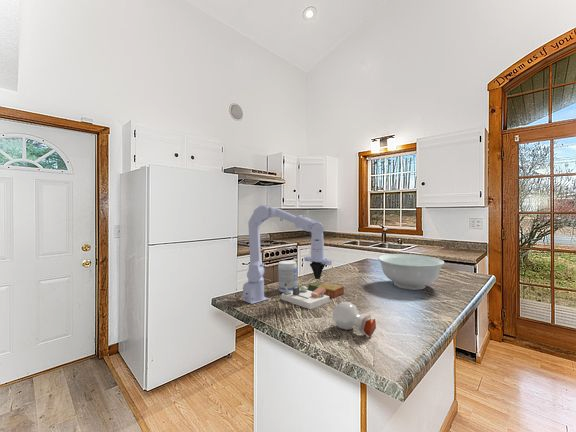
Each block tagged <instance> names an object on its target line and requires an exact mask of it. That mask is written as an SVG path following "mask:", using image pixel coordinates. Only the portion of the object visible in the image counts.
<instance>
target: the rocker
mask: <svg viewBox="0 0 576 432" xmlns="http://www.w3.org/2000/svg"><path fill="white" fill-rule="evenodd" d="M325 291H326V289H325V288H322V287H318V288H317V289H316V290H315V291H313V292H312V293H311V296H313V297H316V298H318V297H319V296H321V293H324V292H325Z"/></svg>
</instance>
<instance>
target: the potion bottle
mask: <svg viewBox="0 0 576 432" xmlns="http://www.w3.org/2000/svg"><path fill="white" fill-rule="evenodd" d="M332 320H333V322H334V324H335V326H336V327H338V328H339V329H341V330H346V331H348V330H349V331H350V330H352V329H354V328H358V331H359V332H360V333H361V334H362V335H364V336H367V337H369V338H371V337H372V335H374V333H375V330H376V328H377V323H376V318H374V319H372V316H371V314H370V315H366V316H364V315H361V314H360V311H359V309H358V307H357V306H356V305H355V304H353V303H352V302H350V301H341V302H339V303H337V304H336V305H335V307H334V308H333V310H332Z"/></svg>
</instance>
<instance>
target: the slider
mask: <svg viewBox="0 0 576 432" xmlns="http://www.w3.org/2000/svg"><path fill="white" fill-rule="evenodd" d="M298 294H300V286H297V287H294V288H293V295H298Z"/></svg>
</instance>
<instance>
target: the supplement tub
mask: <svg viewBox="0 0 576 432" xmlns="http://www.w3.org/2000/svg"><path fill="white" fill-rule="evenodd" d="M297 267H298V264H297V261H295V260H281V261H279V262H278V267H277V269H278V274H277V275H278V291H279V292H281V293H284V292H290V291H293V288H294V287H298V268H297ZM285 283H286V284H287V288H288V291H286V288H285V286H284V284H285Z"/></svg>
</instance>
